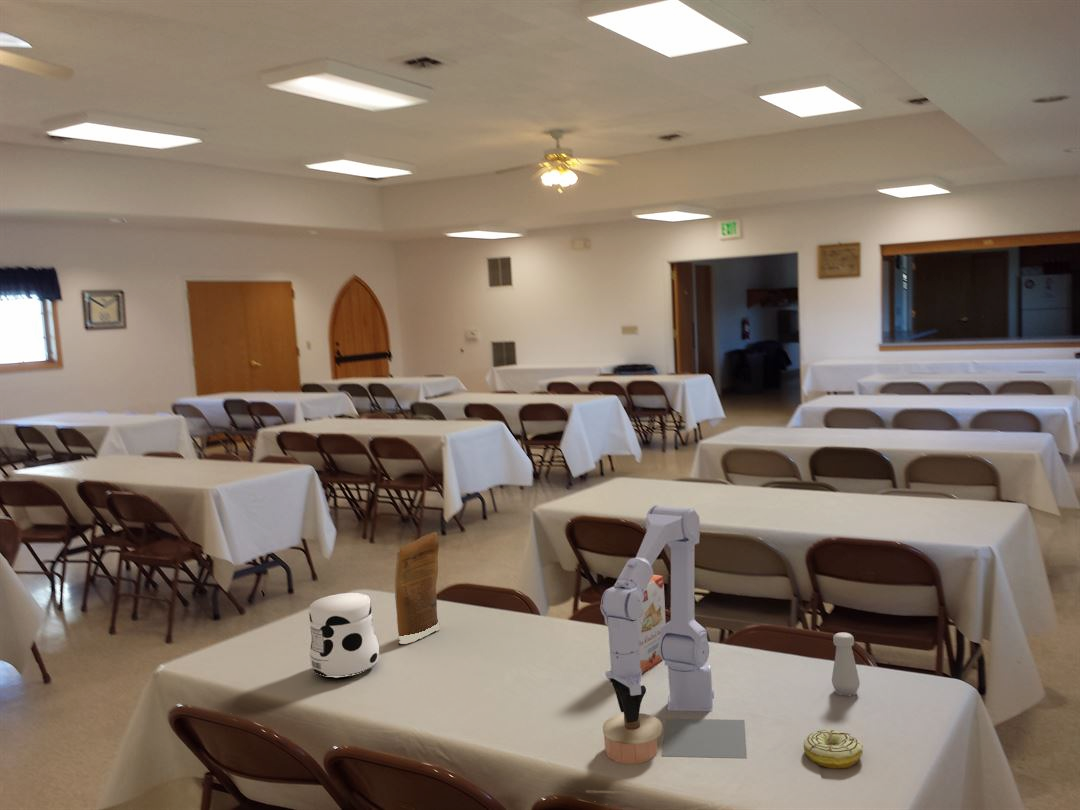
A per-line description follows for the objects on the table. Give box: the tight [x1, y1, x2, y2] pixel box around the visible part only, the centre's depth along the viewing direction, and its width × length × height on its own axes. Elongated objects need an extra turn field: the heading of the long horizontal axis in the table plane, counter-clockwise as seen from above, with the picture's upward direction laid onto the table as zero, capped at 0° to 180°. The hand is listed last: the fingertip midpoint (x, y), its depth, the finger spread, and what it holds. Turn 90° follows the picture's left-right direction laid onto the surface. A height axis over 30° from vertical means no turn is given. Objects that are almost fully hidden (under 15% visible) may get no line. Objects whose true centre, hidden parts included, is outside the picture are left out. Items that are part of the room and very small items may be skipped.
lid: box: [602, 712, 663, 744], centre depth 176 cm, size 12×12×4 cm
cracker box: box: [637, 574, 667, 674], centre depth 219 cm, size 14×6×21 cm, turn 143°
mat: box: [661, 718, 748, 759], centre depth 180 cm, size 16×16×1 cm
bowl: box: [603, 735, 658, 764], centre depth 177 cm, size 10×10×4 cm
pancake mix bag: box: [394, 531, 440, 637], centre depth 251 cm, size 7×19×28 cm, turn 144°
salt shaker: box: [831, 632, 861, 696], centre depth 196 cm, size 6×6×13 cm
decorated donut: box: [803, 728, 864, 770], centre depth 169 cm, size 10×11×4 cm
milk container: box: [308, 592, 380, 676], centre depth 231 cm, size 17×17×18 cm
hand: (629, 716), depth 176 cm, fingers open, 4 cm apart
